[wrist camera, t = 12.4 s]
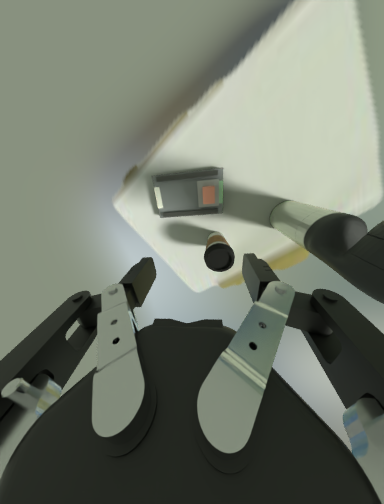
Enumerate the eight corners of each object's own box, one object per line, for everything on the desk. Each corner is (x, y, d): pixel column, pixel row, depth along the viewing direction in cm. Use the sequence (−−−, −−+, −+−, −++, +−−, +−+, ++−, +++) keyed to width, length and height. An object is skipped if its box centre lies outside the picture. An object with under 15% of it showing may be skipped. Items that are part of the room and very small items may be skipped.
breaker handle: (218, 178, 37) (220, 178, 32) (218, 205, 41) (220, 208, 35) (197, 181, 38) (195, 181, 33) (198, 206, 41) (197, 210, 36)
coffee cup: (211, 224, 47) (213, 241, 34) (232, 235, 48) (242, 255, 35) (200, 244, 51) (198, 266, 37) (220, 253, 52) (225, 278, 39)
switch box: (221, 168, 39) (223, 167, 35) (221, 211, 44) (223, 214, 41) (155, 176, 41) (150, 175, 38) (162, 215, 47) (159, 218, 43)
